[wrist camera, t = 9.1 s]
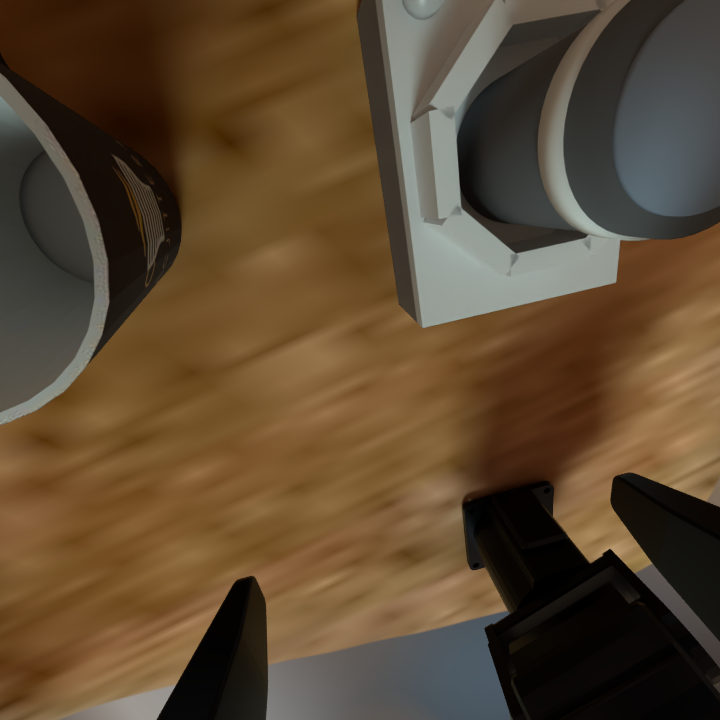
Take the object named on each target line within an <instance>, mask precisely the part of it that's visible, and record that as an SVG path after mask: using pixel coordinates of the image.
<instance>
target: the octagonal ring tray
mask: <svg viewBox="0 0 720 720" xmlns="http://www.w3.org/2000/svg"><path fill="white" fill-rule="evenodd" d="M615 1H616V0H362V1H361V4H360V7H359V10H358V13H357V21H358V28H359V35H360V42H361V48H362V55H363V62H364V69H365V76H366V82H367V89H368V96H369V103H370V110H371V116H372V123H373V130H374V137H375V144H376V150H377V157H378V164H379V171H380V178H381V184H382V191H383V198H384V205H385V211H386V218H387V225H388V232H389V239H390V245H391V252H392V259H393V266H394V273H395V279H396V286H397V293H398V300H399V305H400V306H401V307H402V308H403V309H404V310H405V311H406V312H407V313H408V314H409V315H410V316H411V317H412V318H413V319H414V320H415V321H416V322H417V323H418V324H419V325H420V326H421V327H422V328H425V327H429V326H433V325H437V324H442V323H446V322H450V321H455V320H459V319H463V318H467V317H472V316H476V315H480V314H484V313H489V312H493V311H497V310H501V309H506V308H510V307H514V306H519V305H523V304H527V303H531V302H536V301H540V300H544V299H548V298H553V297H557V296H561V295H566V294H570V293H574V292H578V291H583V290H587V289H591V288H595V287H600V286H604V285H608V284H612V283H616V278H617V268H618V258H619V248H620V240H618V239H610V238H602V237H596V236H591V235H589V234H586V233H583V232H581V231H574V230H564V229H555V228H545V227H536V226H527V225H517V224H508V223H500V222H495V221H492V220H489V219H487V218H485V217H483V216H482V215H480V214H479V213H478V212H476V211H475V210H474V209H473V208H472V207H471V206H470V204H469V203H468V202H467V200H466V199H465V197H464V195H463V194H462V192H461V189H460V184H459V170H458V155H457V141H456V140H457V135H458V132H459V129H460V126H461V123H462V121H463V118H464V116H465V114H466V112H467V110H468V109H469V107H470V105H471V104H472V102H473V101H474V100H475V99H476V97H477V96H478V95H479V94H480V93H481V92H482V91H483V90H484V89H485V88H486V87H487V86H488V85H489V84H491V83H492V82H493V81H495V80H497V79H498V78H500V77H501V76H503V75H505V74H506V73H508V72H510V71H511V70H513V69H515V68H516V67H518V66H520V65H521V64H523V63H524V62H526V61H528V60H529V59H531V58H533V57H534V56H536V55H538V54H539V53H541V52H543V51H544V50H546V49H547V48H549V47H551V46H552V45H554V44H556V43H557V42H559V41H561V40H562V39H564V38H565V37H567V36H569V35H570V34H572V33H574V32H575V31H577V30H579V29H580V28H582V27H584V26H585V25H587V24H588V23H590V21H591V20H592V19H593V18H594V17H595V16H596V15H598V14H599V13H600V12H601V11H603V10H604V9H605V8H606V7H608V6H609V5H610V4H612V3H613V2H615Z"/></svg>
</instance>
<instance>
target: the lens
mask: <svg viewBox="0 0 720 720" xmlns="http://www.w3.org/2000/svg"><path fill="white" fill-rule="evenodd" d="M456 141H457V155H458V170H459V184H460V189H461V192H462V194H463V195H464V197H465V199H466V200H467V202H468V203H469V204H470V206H471V207H472V208H473V209H474V210H475V211H476V212H478V213H479V214H480V215H482V216H483V217H485V218H487V219H489V220H492V221H495V222H500V223H508V224H517V225H527V226H536V227H545V228H555V229H564V230H574V231H581V232H583V233H586V234H589V235H591V236H596V237H602V238H610V239H618V240H626V241H641V240H648V239H676V238H683V237H686V236H690V235H693V234H696V233H699V232H701V231H703V230H706V229H708V228H710V227H712V226H713V225H715V224H717V223H719V222H720V0H616V1H615V2H613V3H612V4H610V5H609V6H608V7H606V8H605V9H604V10H603V11H601V12H600V13H599V14H598V15H596V16H595V17H594V18H593V19H592V20H591V21H590V23H588V24H587V25H585V26H584V27H582V28H580V29H579V30H577V31H575V32H574V33H572V34H570V35H569V36H567V37H565V38H564V39H562V40H561V41H559V42H557V43H556V44H554V45H552V46H551V47H549V48H547V49H546V50H544V51H543V52H541V53H539V54H538V55H536V56H534V57H533V58H531V59H529V60H528V61H526V62H524V63H523V64H521V65H520V66H518V67H516V68H515V69H513V70H511V71H510V72H508V73H506V74H505V75H503V76H501V77H500V78H498V79H497V80H495V81H493V82H492V83H491V84H489V85H488V86H487V87H486V88H485V89H484V90H483V91H482V92H481V93H480V94H479V95H478V96H477V97H476V99H475V100H474V101H473V102H472V104H471V105H470V107H469V109H468V110H467V112H466V114H465V116H464V118H463V121H462V123H461V126H460V129H459V132H458V135H457V140H456Z"/></svg>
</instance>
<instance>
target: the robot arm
mask: <svg viewBox="0 0 720 720" xmlns="http://www.w3.org/2000/svg"><path fill="white" fill-rule="evenodd" d="M553 496H554V488H553V486H552V485H551V484H550V483H549V482H548V481H543V482H539V483H535V484H532V485H528V486H524V487H521V488H517V489H513V490H509V491H506V492H502V493H498V494H495V495H491V496H487V497H484V498H480V499H476V500H472V501H469V502H466V503H465V504H464V505H463V507H462V511H463V521H464V532H465V542H466V552H467V562H468V565H469V567H470V569H472V570H478V569H481V568H485V567H486V569H487V571H488V573H489V575H490V577H491V579H492V581H493V583H494V585H495V587H496V588H497V590H498V592H499V594H500V596H501V598H502V600H503V602H504V604H505V606H506V608H507V610H508V612H509V613H510V614H509V615H508V616H506V617H505V618H503V619H502V620H500V621H498V622H497V623H495V624H490V625H489V626H487V627H485V632H486V635H487V638H488V641H489V644H488V647H489V650H490V653H491V656H492V659H493V662H494V665H495V668H496V671H497V674H498V678H499V681H500V684H501V687H502V690H503V693H504V696H505V699H506V702H507V705H508V708H509V712H510V717H511V720H720V693H719V692H718V691H717V689H716V688H715V687H717V686H719V685H720V668H719V667H718V666H717V664H716V663H715V662H714V661H713V659H712V658H711V657H710V656H709V655H708V653H707V652H706V651H705V650H704V648H703V647H702V646H701V645H700V644H699V642H698V641H697V640H696V639H695V638H694V637H693V636H692V634H691V633H690V632H689V631H688V630H687V629H686V628H685V626H684V625H683V624H682V623H681V622H680V621H679V620H678V619H677V618H676V616H674V614H673V613H672V612H671V611H670V610H669V609H668V608H667V607H666V606H665V605H664V604H663V603H662V601H660V599H659V598H658V597H657V596H656V595H655V594H654V593H653V592H652V591H651V590H650V589H649V588H648V587H647V586H646V585H645V584H644V583H643V582H642V581H641V580H640V579H639V578H638V577H637V576H636V575H635V574H634V573H633V572H632V571H631V570H630V569H629V568H628V567H627V566H626V564H625V563H624V562H623V561H622V560H621V559H620V558H619V557H618V556H617V555H616V554H615V553H614V552H613V551H612V550H611V549H609V550H607V551H606V552H604V553H603V556H602V557H600V558H598V559H597V560H595V561H594V562H592V563H591V564H590V563H589V561H588V560H587V559H586V558H585V556H584V555H583V554H582V553H581V551H580V550H579V549H578V548H577V547H576V545H575V544H574V543H573V542H572V540H571V539H570V538H569V537H568V536H567V534H566V532H565V531H564V530H563V529H562V527H561V526H560V525H559V524H558V522H557V521H556V520H555V519H554V518H553ZM610 501H611V505H612V507H613V509H614V511H615V512H616V514H617V515H618V517H619V518H620V519H621V521H622V522H623V523H624V525H625V526H626V528H627V529H628V530H629V532H630V533H631V534H632V536H633V537H634V539H635V540H636V541H637V543H638V544H639V545H640V547H641V548H642V549H643V551H644V552H645V554H646V555H647V556H648V558H649V559H650V560H651V562H652V563H653V564H654V566H655V567H656V568H657V569H658V571H659V572H660V573H661V574H662V575H663V577H664V578H665V579H666V580H667V581H668V583H669V584H670V585H671V586H672V587H673V588H674V589H675V590H676V592H677V593H678V594H679V595H680V596H681V598H682V599H683V600H684V601H685V602H686V603H687V604H688V605H689V607H690V608H691V609H692V610H693V611H694V613H695V614H696V615H697V616H698V617H699V618H700V619H701V621H702V622H703V623H704V624H705V625H706V626H707V628H708V629H709V630H710V631H711V632H712V633H713V634H714V635H715V637H716V638H717V639H718V640H719V641H720V507H718V506H716V505H713V504H711V503H708V502H706V501H703V500H701V499H698V498H696V497H693V496H691V495H688V494H686V493H683V492H681V491H678V490H675V489H673V488H670V487H668V486H665V485H663V484H660V483H658V482H655V481H653V480H650V479H648V478H645V477H643V476H640V475H638V474H635V473H624V474H621V475H617V476H615V477H614V478H613V482H612V490H611V498H610ZM469 509H470V510H469ZM267 694H268V659H267V621H266V603H265V598H264V596H263V593H262V591H261V589H260V587H259V585H258V582H257V580H256V578H255V577H254V576H249V577H245V578H241V579H238V580H237V581H235V583H234V584H233V586H232V587H231V589H230V591H229V593H228V595H227V596H226V598H225V600H224V602H223V603H222V605H221V607H220V609H219V610H218V612H217V614H216V616H215V617H214V619H213V621H212V623H211V625H210V626H209V628H208V630H207V632H206V633H205V635H204V637H203V639H202V640H201V642H200V644H199V646H198V647H197V649H196V651H195V653H194V655H193V656H192V658H191V660H190V662H189V663H188V665H187V667H186V669H185V670H184V672H183V674H182V676H181V677H180V679H179V681H178V683H177V684H176V686H175V688H174V690H173V692H172V693H171V695H170V697H169V699H168V700H167V702H166V704H165V706H164V708H163V709H162V711H161V713H160V714H159V717H158V718H157V720H266V710H267Z"/></svg>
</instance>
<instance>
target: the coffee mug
mask: <svg viewBox="0 0 720 720" xmlns="http://www.w3.org/2000/svg"><path fill="white" fill-rule="evenodd" d="M180 243H181V221H180V214H179V210H178V207H177V204H176V202H175V199H174V196H173V194H172V193H171V191H170V189H169V187H168V185H167V184H166V182H165V181H164V179H163V178H162V177H161V176H160V174H159V173H158V172H157V171H156V169H155V168H154V167H153V166H152V165H151V164H150V163H148V162H147V161H146V160H145V159H144V158H143V157H142V156H141V155H139V154H138V153H136V152H135V151H133V150H132V149H130V148H129V147H127V146H126V145H124V144H123V143H121V142H119V141H118V140H116V139H115V138H113V137H112V136H110V135H109V134H107V133H106V132H104V131H103V130H101V129H100V128H98V127H97V126H95V125H94V124H92V123H91V122H89V121H88V120H86V119H85V118H83V117H82V116H80V115H78V114H77V113H75V112H74V111H72V110H71V109H69V108H68V107H66V106H65V105H63V104H62V103H60V102H59V101H57V100H56V99H54V98H53V97H51V96H50V95H48V94H47V93H45V92H44V91H42V90H41V89H39V88H37V87H36V86H34V85H33V84H31V83H30V82H28V81H27V80H25V79H24V78H22V77H21V76H19V75H18V74H16V73H15V72H13V71H12V70H10V68H9V67H8V65H7V64H6V62H5V61H4V59H3V57H2V55H1V54H0V425H2V424H6V423H8V422H11V421H13V420H15V419H18V418H20V417H22V416H25V415H27V414H29V413H32V412H34V411H36V410H39V409H40V408H41V407H43V406H44V405H46V404H47V403H48V402H50V401H51V400H53V399H54V398H55V397H57V396H58V395H60V394H61V393H63V392H64V391H65V390H66V389H67V388H68V387H69V386H70V385H71V384H72V382H73V381H74V380H75V379H76V378H77V377H78V376H79V374H80V373H81V372H82V371H83V370H84V369H85V368H86V366H87V365H88V364H89V363H90V362H91V361H92V359H93V358H94V357H95V356H96V355H97V353H98V352H99V351H100V350H101V349H102V348H103V346H104V345H105V344H106V343H107V342H108V340H109V339H110V338H111V337H112V336H113V334H114V333H115V332H116V331H117V330H118V329H119V327H120V326H121V325H122V324H123V323H124V321H125V320H126V319H127V318H128V317H129V316H130V314H131V313H132V312H133V311H134V310H135V308H136V307H137V306H138V305H139V304H140V303H141V301H142V300H143V299H144V298H145V297H146V295H147V294H148V293H149V292H150V291H151V289H152V288H153V287H154V286H155V285H156V284H157V282H158V281H159V280H160V279H161V278H162V276H163V275H164V274H165V273H166V272H167V271H168V269H169V268H170V267H171V266H172V264H173V262H174V260H175V258H176V256H177V254H178V250H179V246H180Z"/></svg>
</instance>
